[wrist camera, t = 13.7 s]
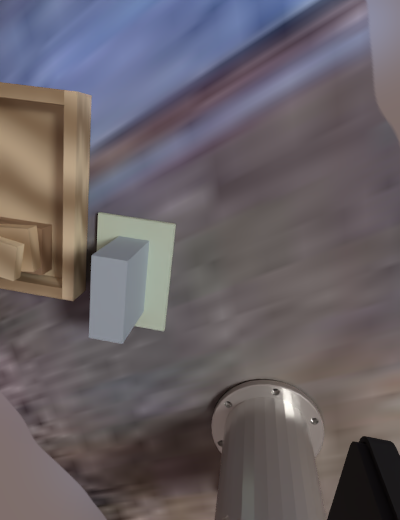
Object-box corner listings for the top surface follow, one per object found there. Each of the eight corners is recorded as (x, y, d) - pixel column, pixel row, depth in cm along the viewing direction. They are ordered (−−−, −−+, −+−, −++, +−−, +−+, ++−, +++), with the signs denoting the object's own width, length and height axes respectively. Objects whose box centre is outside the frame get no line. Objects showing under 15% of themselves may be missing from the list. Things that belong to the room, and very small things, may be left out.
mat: (164, 329, 42) (163, 331, 42) (95, 316, 43) (93, 318, 42) (175, 223, 38) (174, 224, 38) (100, 212, 39) (98, 213, 39)
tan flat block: (52, 269, 41) (42, 275, 40) (-17, 257, 42) (-29, 263, 40) (52, 224, 40) (41, 228, 38) (-19, 213, 41) (-33, 216, 39)
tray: (85, 290, 42) (73, 301, 39) (-43, 268, 44) (-64, 277, 41) (91, 95, 36) (77, 91, 33) (-59, 77, 37) (-85, 72, 34)
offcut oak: (41, 267, 39) (33, 272, 38) (-21, 263, 40) (-31, 267, 39) (36, 225, 38) (28, 228, 37) (-28, 222, 39) (-39, 225, 37)
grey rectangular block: (143, 311, 41) (122, 343, 35) (115, 306, 42) (88, 337, 35) (149, 240, 39) (127, 261, 32) (119, 236, 39) (91, 255, 32)
